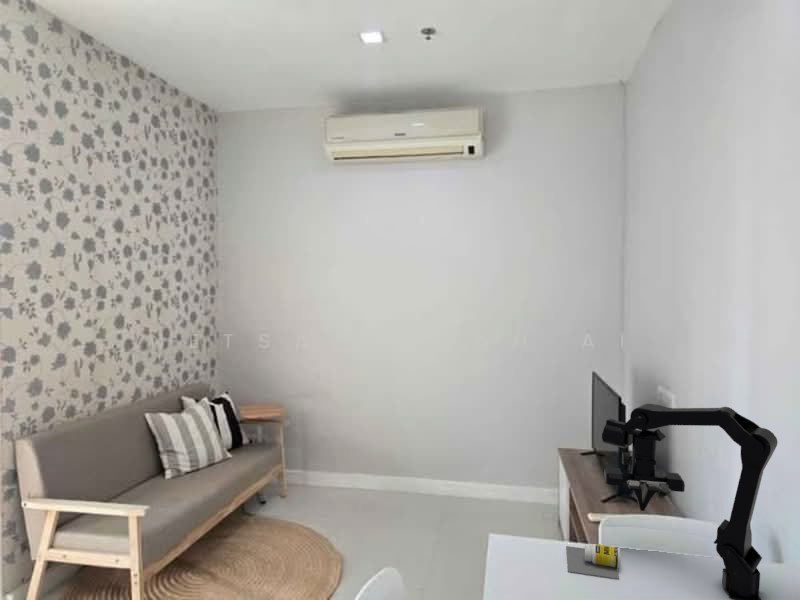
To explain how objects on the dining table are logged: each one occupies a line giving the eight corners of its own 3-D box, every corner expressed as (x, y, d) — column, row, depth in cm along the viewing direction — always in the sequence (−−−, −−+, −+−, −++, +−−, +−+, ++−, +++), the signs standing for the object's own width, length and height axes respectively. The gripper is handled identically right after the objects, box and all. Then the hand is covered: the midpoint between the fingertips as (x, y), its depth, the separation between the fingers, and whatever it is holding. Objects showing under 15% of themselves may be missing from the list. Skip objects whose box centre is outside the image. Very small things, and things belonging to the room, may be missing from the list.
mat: (613, 553, 143) (613, 552, 143) (619, 579, 132) (619, 578, 131) (566, 547, 146) (566, 545, 146) (567, 572, 135) (568, 571, 135)
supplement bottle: (620, 555, 134) (585, 549, 136) (620, 572, 135) (584, 566, 137) (619, 543, 138) (584, 538, 141) (618, 560, 139) (584, 554, 142)
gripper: (675, 445, 146) (673, 500, 147) (602, 439, 151) (601, 493, 152) (686, 460, 135) (683, 520, 137) (607, 453, 140) (605, 511, 141)
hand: (641, 510), depth 142 cm, fingers closed
